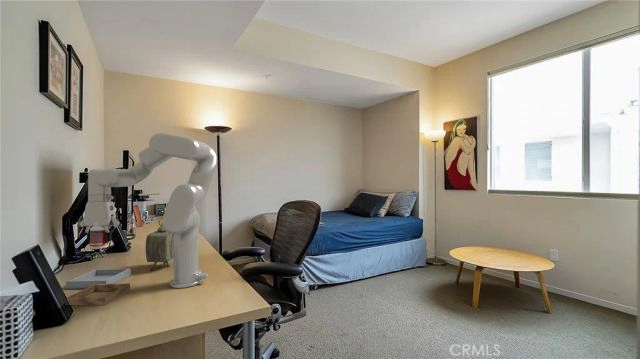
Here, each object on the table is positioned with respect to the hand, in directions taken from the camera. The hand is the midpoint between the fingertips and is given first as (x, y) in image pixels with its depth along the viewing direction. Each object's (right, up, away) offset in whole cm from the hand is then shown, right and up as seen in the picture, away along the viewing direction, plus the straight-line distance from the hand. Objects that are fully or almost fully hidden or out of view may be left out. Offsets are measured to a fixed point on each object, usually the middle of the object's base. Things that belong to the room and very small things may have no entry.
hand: (99, 241), depth 117 cm
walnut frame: (+11, -18, -14) cm, 25 cm away
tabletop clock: (+14, -18, +23) cm, 32 cm away
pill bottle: (0, -3, 0) cm, 3 cm away
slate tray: (-2, -18, +3) cm, 18 cm away
